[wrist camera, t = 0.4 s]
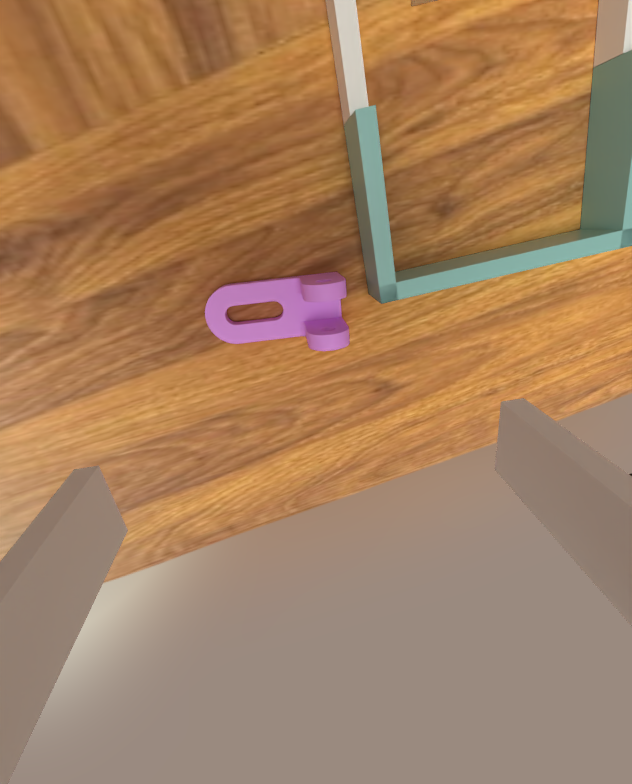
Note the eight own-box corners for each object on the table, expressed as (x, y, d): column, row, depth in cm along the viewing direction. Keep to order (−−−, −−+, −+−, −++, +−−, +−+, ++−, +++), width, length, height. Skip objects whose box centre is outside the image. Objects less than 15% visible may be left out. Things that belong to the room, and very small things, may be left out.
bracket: (336, 271, 37) (349, 281, 30) (340, 327, 39) (353, 347, 33) (201, 286, 36) (186, 300, 30) (214, 342, 38) (201, 366, 32)
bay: (343, 125, 32) (355, 109, 27) (610, 64, 32) (666, 38, 27) (368, 293, 38) (381, 303, 33) (593, 241, 38) (636, 244, 33)
